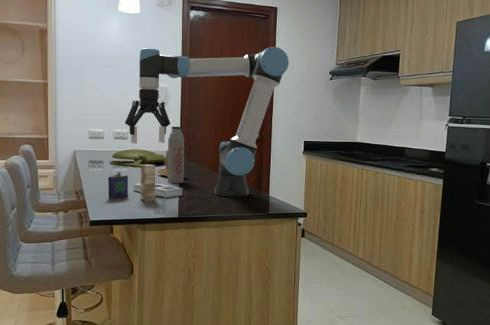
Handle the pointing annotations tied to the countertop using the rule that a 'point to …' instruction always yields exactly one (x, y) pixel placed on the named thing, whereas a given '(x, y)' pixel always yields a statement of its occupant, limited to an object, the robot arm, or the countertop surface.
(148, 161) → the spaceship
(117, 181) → the flask
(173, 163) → the thermos bottle
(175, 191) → the white compartment tray
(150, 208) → the countertop surface
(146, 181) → the birch peg
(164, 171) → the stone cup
